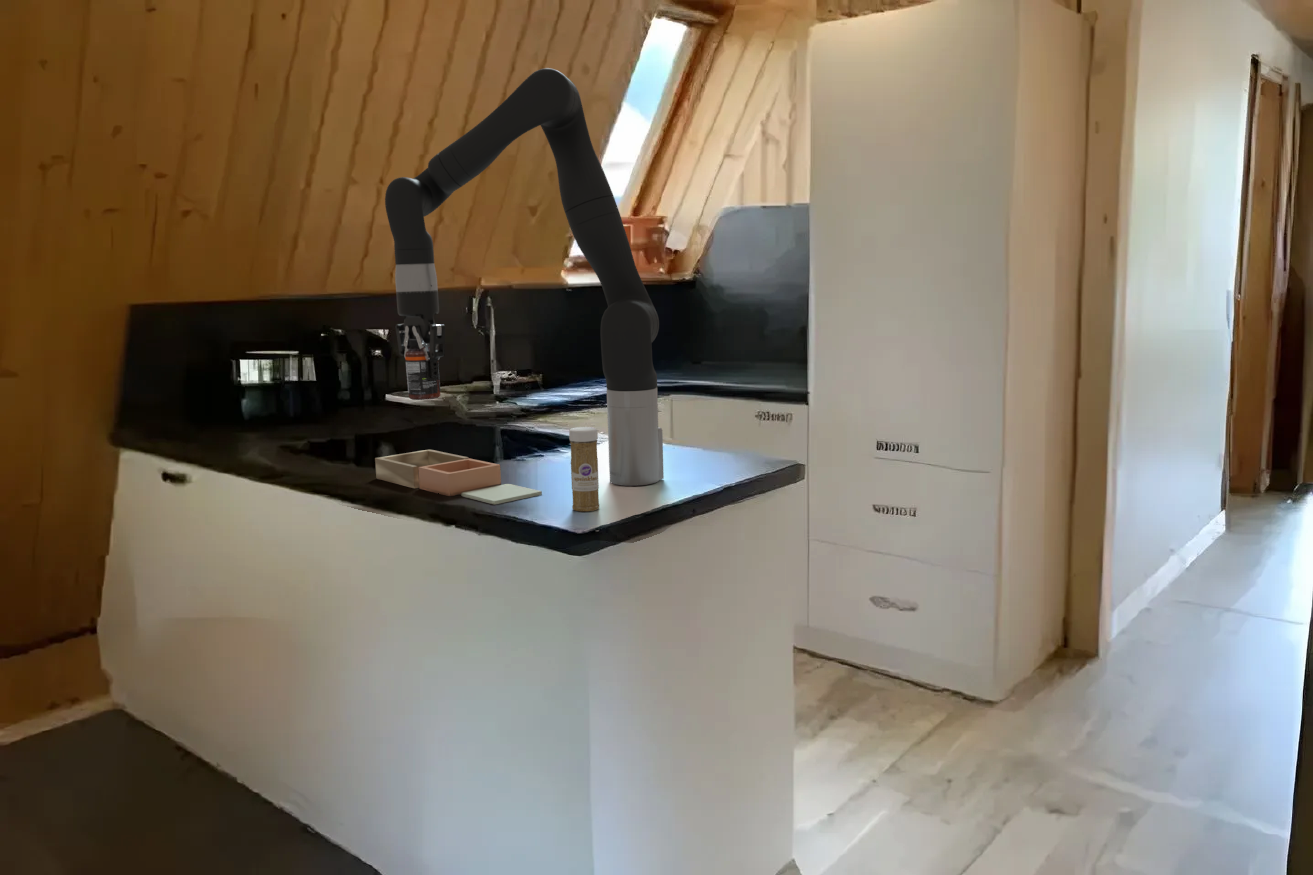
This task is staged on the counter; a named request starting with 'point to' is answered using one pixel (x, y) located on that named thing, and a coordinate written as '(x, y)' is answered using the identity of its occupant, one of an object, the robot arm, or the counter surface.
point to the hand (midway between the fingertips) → (423, 379)
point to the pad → (501, 493)
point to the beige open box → (410, 466)
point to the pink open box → (459, 476)
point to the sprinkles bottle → (584, 468)
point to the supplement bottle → (419, 375)
